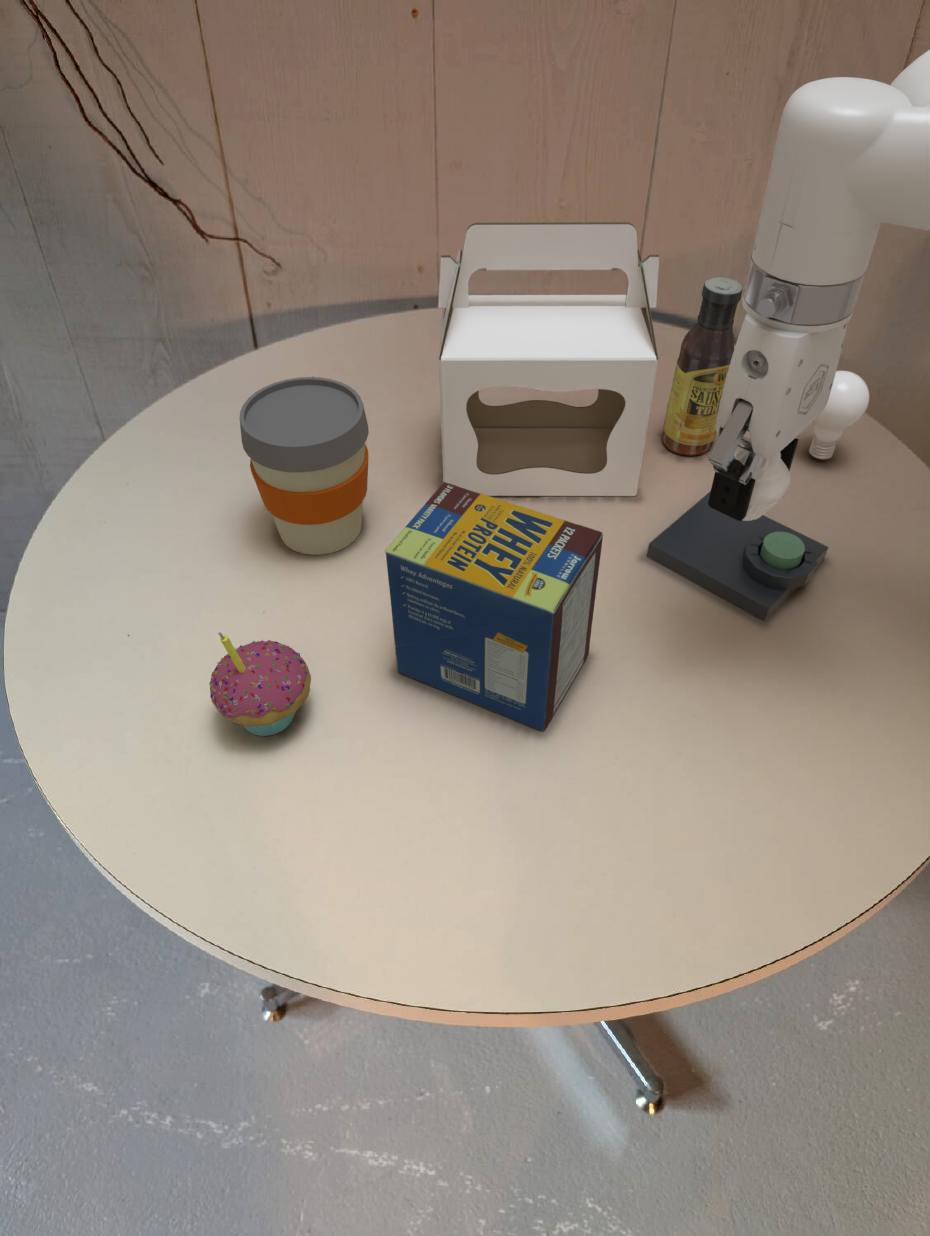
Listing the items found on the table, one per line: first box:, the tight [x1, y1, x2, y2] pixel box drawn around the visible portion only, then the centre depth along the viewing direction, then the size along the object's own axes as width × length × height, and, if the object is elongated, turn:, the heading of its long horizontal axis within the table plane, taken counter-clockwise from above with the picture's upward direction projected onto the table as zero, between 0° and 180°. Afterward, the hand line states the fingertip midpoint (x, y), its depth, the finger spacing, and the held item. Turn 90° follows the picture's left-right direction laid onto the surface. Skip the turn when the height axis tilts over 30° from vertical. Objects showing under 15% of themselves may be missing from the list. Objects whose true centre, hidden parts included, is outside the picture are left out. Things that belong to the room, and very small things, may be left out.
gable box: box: [437, 221, 660, 497], centre depth 97 cm, size 22×13×28 cm, turn 89°
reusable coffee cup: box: [239, 376, 370, 556], centre depth 94 cm, size 12×13×15 cm
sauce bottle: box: [661, 276, 743, 457], centre depth 102 cm, size 7×6×20 cm
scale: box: [646, 490, 829, 622], centre depth 94 cm, size 15×12×4 cm
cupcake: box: [208, 631, 312, 737], centre depth 77 cm, size 9×8×12 cm
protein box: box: [384, 482, 604, 732], centre depth 80 cm, size 10×15×16 cm
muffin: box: [712, 437, 791, 521], centre depth 74 cm, size 6×6×7 cm
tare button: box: [760, 532, 805, 570], centre depth 90 cm, size 4×4×2 cm
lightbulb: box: [808, 370, 870, 460], centre depth 103 cm, size 6×6×11 cm
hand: (748, 490), depth 76 cm, fingers closed on muffin, 6 cm apart
